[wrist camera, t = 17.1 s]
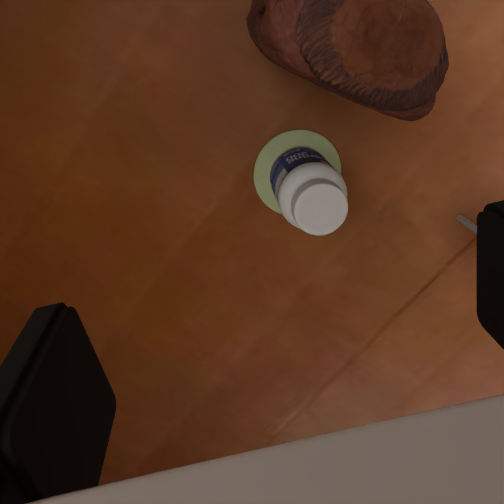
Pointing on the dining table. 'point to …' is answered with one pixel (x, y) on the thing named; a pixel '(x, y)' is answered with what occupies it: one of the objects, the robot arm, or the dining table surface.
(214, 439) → the dining table surface
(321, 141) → the coaster
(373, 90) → the wooden figurine
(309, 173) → the pill bottle
